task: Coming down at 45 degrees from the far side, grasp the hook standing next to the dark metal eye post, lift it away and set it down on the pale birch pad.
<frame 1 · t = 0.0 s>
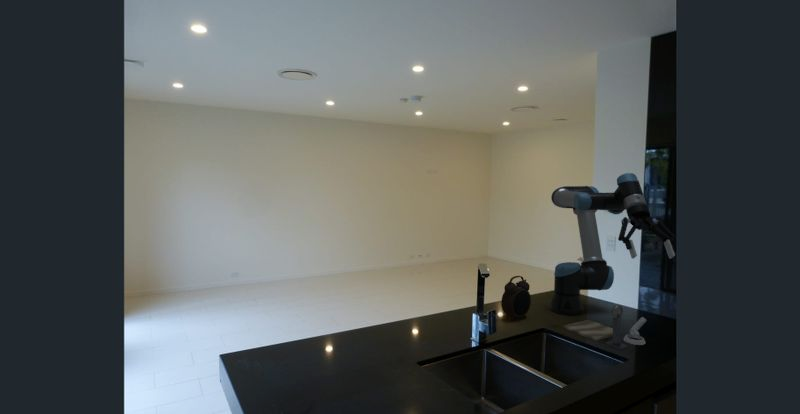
hand: (653, 257, 149), 36 cm above the worktop, tool tilted 35°, fingers open, 13 cm apart
hook: (634, 341, 162), on the worktop
alarm clock: (516, 319, 188), on the worktop
eye post: (616, 345, 157), on the worktop
pad: (591, 330, 173), on the worktop
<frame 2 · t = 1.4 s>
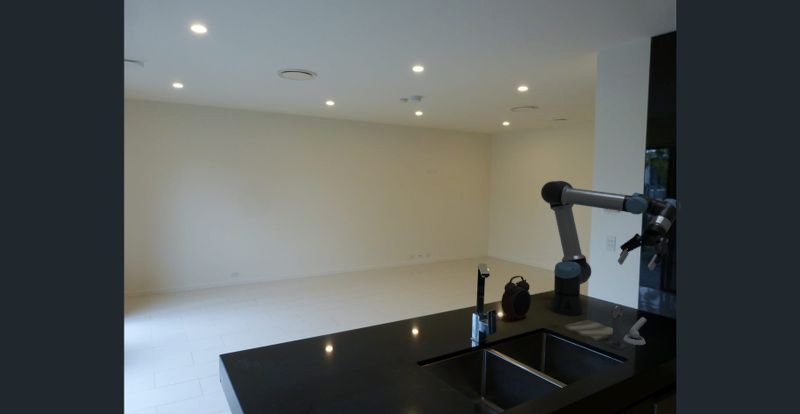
hand: (634, 265, 173), 28 cm above the worktop, tool tilted 45°, fingers open, 13 cm apart
nothing on the worktop moved.
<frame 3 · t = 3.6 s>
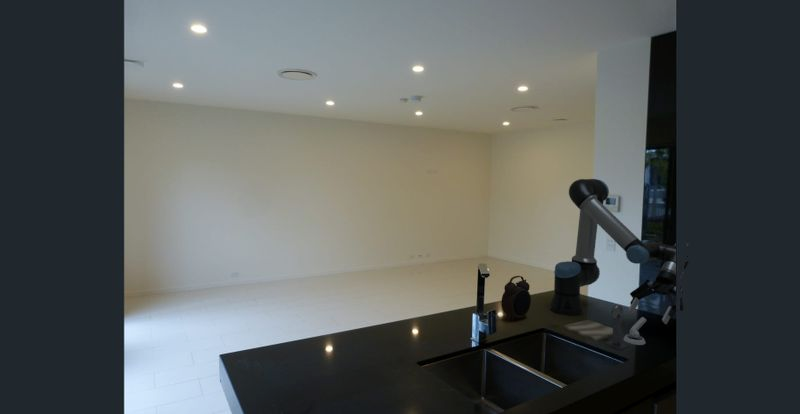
hand: (646, 316, 162), 10 cm above the worktop, tool tilted 45°, fingers open, 13 cm apart
nothing on the worktop moved.
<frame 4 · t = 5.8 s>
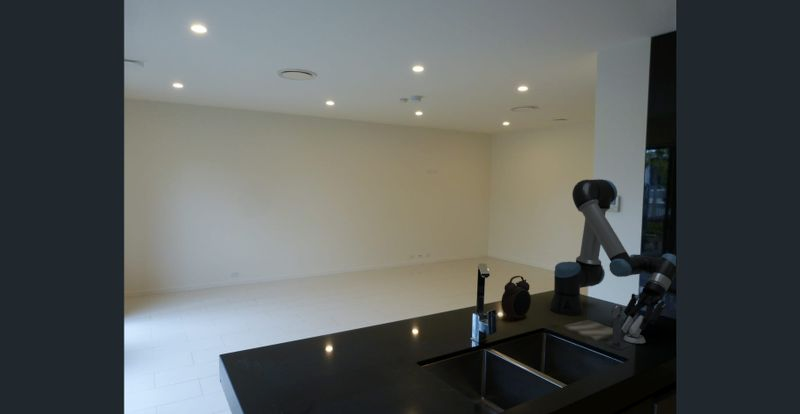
hand: (629, 332, 160), 4 cm above the worktop, tool tilted 45°, fingers closed on hook, 4 cm apart
hook: (634, 340, 162), on the worktop, touching gripper
everything else where it was.
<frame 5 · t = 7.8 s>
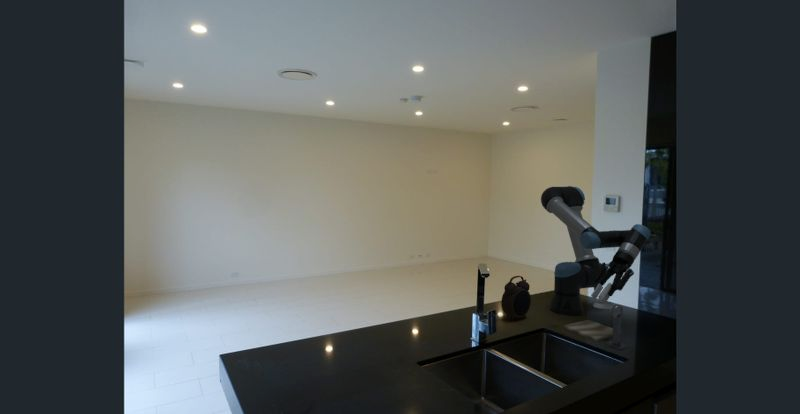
hand: (598, 299, 167), 15 cm above the worktop, tool tilted 45°, fingers closed on hook, 4 cm apart
hook: (603, 307, 169), point 11 cm above the worktop, touching gripper
everything else where it was.
when the fingers open (6 cm above the worktop, at t = 10.1 s): hook drops 1 cm, resting on pad.
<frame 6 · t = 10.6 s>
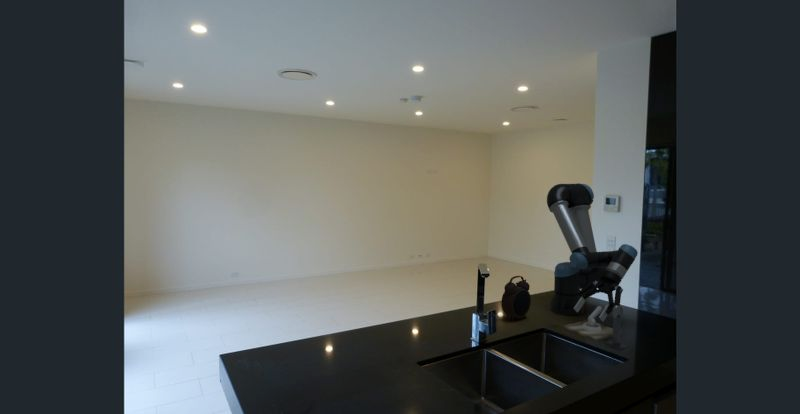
hand: (588, 314, 171), 7 cm above the worktop, tool tilted 45°, fingers open, 12 cm apart
hook: (591, 329, 173), point 1 cm above the worktop, touching pad
everything else where it was.
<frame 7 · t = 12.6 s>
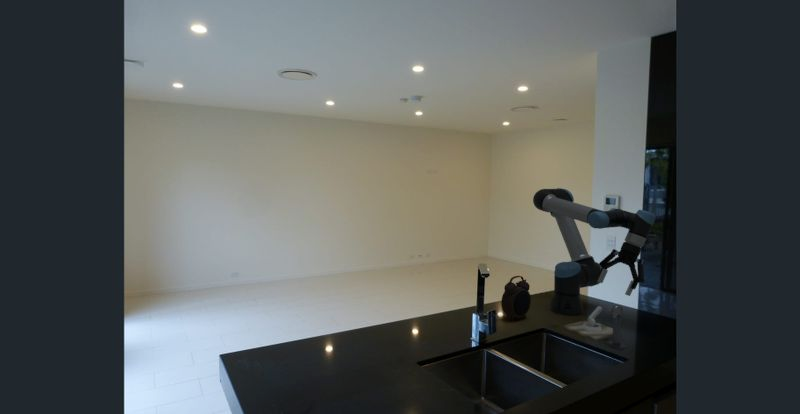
hand: (613, 288, 179), 16 cm above the worktop, tool tilted 20°, fingers open, 13 cm apart
nothing on the worktop moved.
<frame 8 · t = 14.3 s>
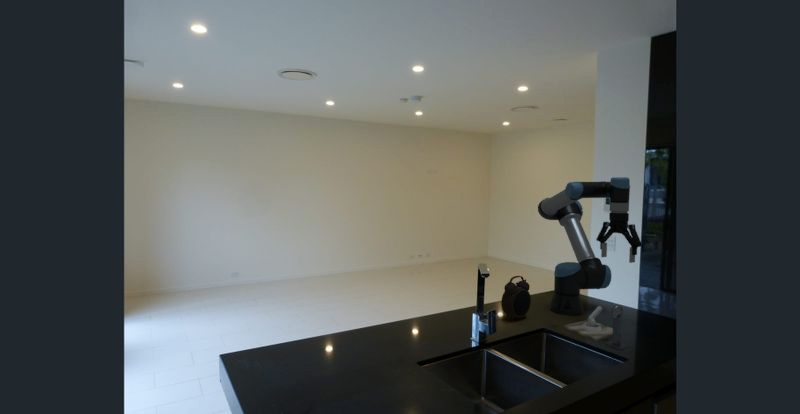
hand: (617, 259, 181), 29 cm above the worktop, tool pointing down, fingers open, 13 cm apart
nothing on the worktop moved.
at the end: hook inside the target area on the pad (0.1 cm from its centre), point 0.8 cm above the pad's base; hook tilted 1°; the gripper is holding nothing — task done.
